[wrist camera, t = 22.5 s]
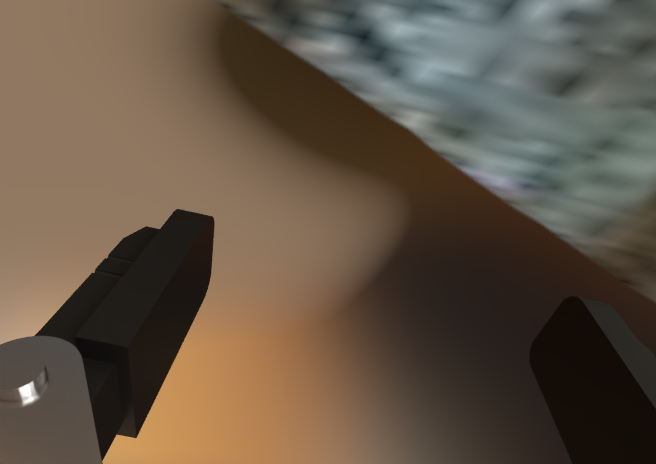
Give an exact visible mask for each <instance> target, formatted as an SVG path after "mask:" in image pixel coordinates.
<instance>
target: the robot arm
mask: <svg viewBox="0 0 656 464" xmlns="http://www.w3.org/2000/svg"><path fill="white" fill-rule="evenodd" d="M213 238H214V218H213V217H212V216H208V215H203V214H199V213H194V212H189V211H184V210H180V209H177V210H175V211H174V212H173V214H172V215H171V216H170V217H169V218H168V220H167V221H166V222H165V224H164V225H163V226H162V227H161V229H156V228H151V227H144V228H142V229H141V230H138V231H137V232H134V233H133V234H131V235H129V236H127V237H125V238H123V239H122V240H121V241H120V243H119V244H118V245H117V246H116V247H115V248H114V249H113V250H112V251H111V253H110V254H109V255H108V258H107V259H106V258H105V259H104V260H103V262H102V263H101V264H100V265H99V266H98V267H97V268H96V270H95V273H92V274H91V275H90V276H89V277H88V278H87V279H86V280H85V281H84V282H83V283H82V285H81V286H80V287H79V288H78V289H77V290H76V291H75V292H74V293H73V295H72V296H71V297H70V298H69V299H68V300H67V301H66V302H65V303H64V304H63V306H62V307H61V308H60V309H59V310H58V311H57V312H56V313H55V314H54V315H53V317H52V318H51V319H50V320H49V321H48V322H47V323H46V324H45V326H43V328H42V329H41V330H40V331H39V332H38V333H37V334H36V335H35V336H32V337H25V338H20V339H16V340H12V341H9V342H6V343H3V344H1V345H0V464H102V461H103V459H104V457H105V455H106V453H107V451H108V449H109V448H110V446H111V444H112V442H113V440H114V438H115V436H116V435H123V436H129V437H133V438H137V436H138V434H139V431H140V429H141V427H142V425H143V423H144V421H145V419H146V417H147V415H148V413H149V411H150V409H151V407H152V405H153V403H154V400H155V399H156V397H157V395H158V392H159V390H160V388H161V386H162V384H163V382H164V380H165V378H166V376H167V374H168V372H169V370H170V368H171V366H172V363H173V362H174V359H175V358H176V356H177V353H178V351H179V349H180V347H181V345H182V343H183V341H184V339H185V337H186V335H187V333H188V331H189V329H190V327H191V325H192V323H193V321H194V319H195V316H196V314H197V312H198V310H199V308H200V306H201V304H202V302H203V300H204V298H205V295H206V292H207V289H208V286H209V282H210V277H211V268H212V253H213ZM530 365H531V368H532V371H533V373H534V375H535V378H536V380H537V382H538V385H539V387H540V389H541V392H542V394H543V396H544V399H545V401H546V403H547V406H548V408H549V410H550V413H551V415H552V417H553V419H554V422H555V424H556V426H557V429H558V431H559V433H560V436H561V438H562V440H563V442H564V445H565V447H566V449H567V452H568V454H569V456H570V459H571V461H572V463H573V464H656V358H655V356H654V355H653V354H652V352H651V351H649V349H647V348H646V347H645V346H644V345H643V344H642V343H641V342H639V341H638V340H637V339H636V337H635V336H634V335H633V333H632V332H631V331H630V330H629V328H628V327H627V325H626V324H625V323H624V321H623V320H622V319H621V318H620V316H619V315H618V314H617V312H616V311H615V310H614V308H613V307H612V306H610V305H608V304H606V303H602V302H597V301H592V300H588V299H584V298H579V297H574V296H571V297H568V298H566V299H565V300H564V301H563V302H562V303H561V304H560V305H559V307H558V308H557V309H556V311H555V312H554V314H553V315H552V316H551V318H550V319H549V320H548V322H547V323H546V324H545V326H544V327H543V329H542V330H541V331H540V333H539V334H538V335H537V337H536V338H535V340H534V341H533V343H532V346H531V349H530Z"/></svg>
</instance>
